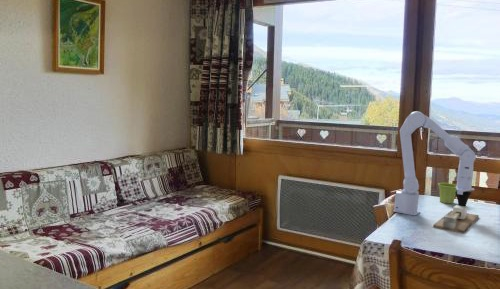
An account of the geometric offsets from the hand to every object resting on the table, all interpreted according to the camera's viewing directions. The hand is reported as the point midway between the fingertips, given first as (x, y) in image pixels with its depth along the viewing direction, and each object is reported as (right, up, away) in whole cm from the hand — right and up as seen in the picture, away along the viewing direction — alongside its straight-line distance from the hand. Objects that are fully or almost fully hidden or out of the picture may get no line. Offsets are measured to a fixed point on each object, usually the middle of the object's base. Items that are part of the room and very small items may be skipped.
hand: (461, 208), depth 196 cm
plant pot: (+6, -1, +30) cm, 30 cm away
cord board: (-5, -5, -6) cm, 9 cm away
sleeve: (-2, -3, -2) cm, 5 cm away
